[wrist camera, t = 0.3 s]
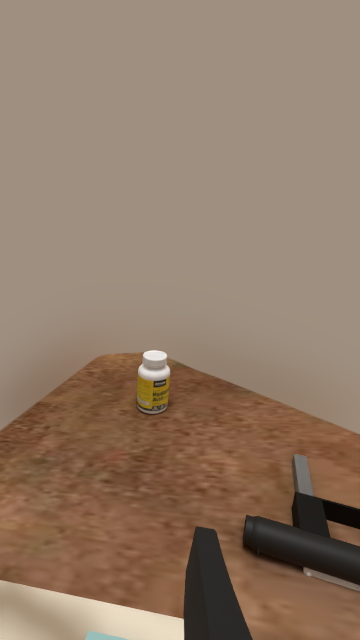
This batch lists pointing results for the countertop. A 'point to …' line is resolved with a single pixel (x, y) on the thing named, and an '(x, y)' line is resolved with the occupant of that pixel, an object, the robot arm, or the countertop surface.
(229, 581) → the robot arm
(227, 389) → the countertop surface
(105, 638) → the pad
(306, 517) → the door handle
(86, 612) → the birch board
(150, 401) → the supplement bottle
